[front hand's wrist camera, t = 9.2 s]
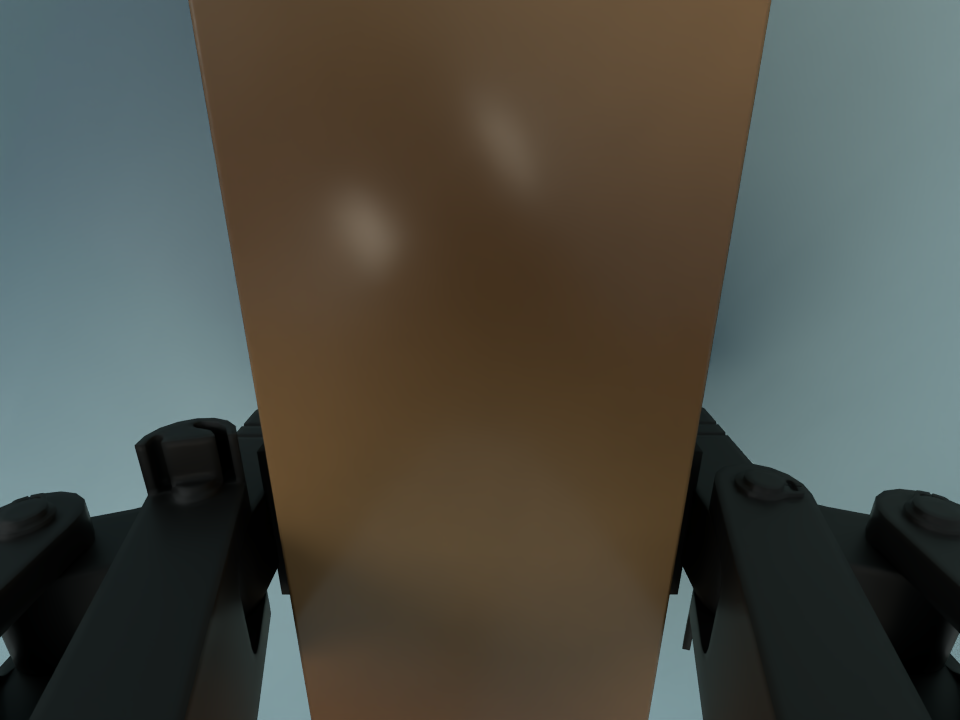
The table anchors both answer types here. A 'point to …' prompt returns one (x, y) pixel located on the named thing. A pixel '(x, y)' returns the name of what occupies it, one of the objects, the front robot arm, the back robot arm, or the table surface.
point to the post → (479, 327)
